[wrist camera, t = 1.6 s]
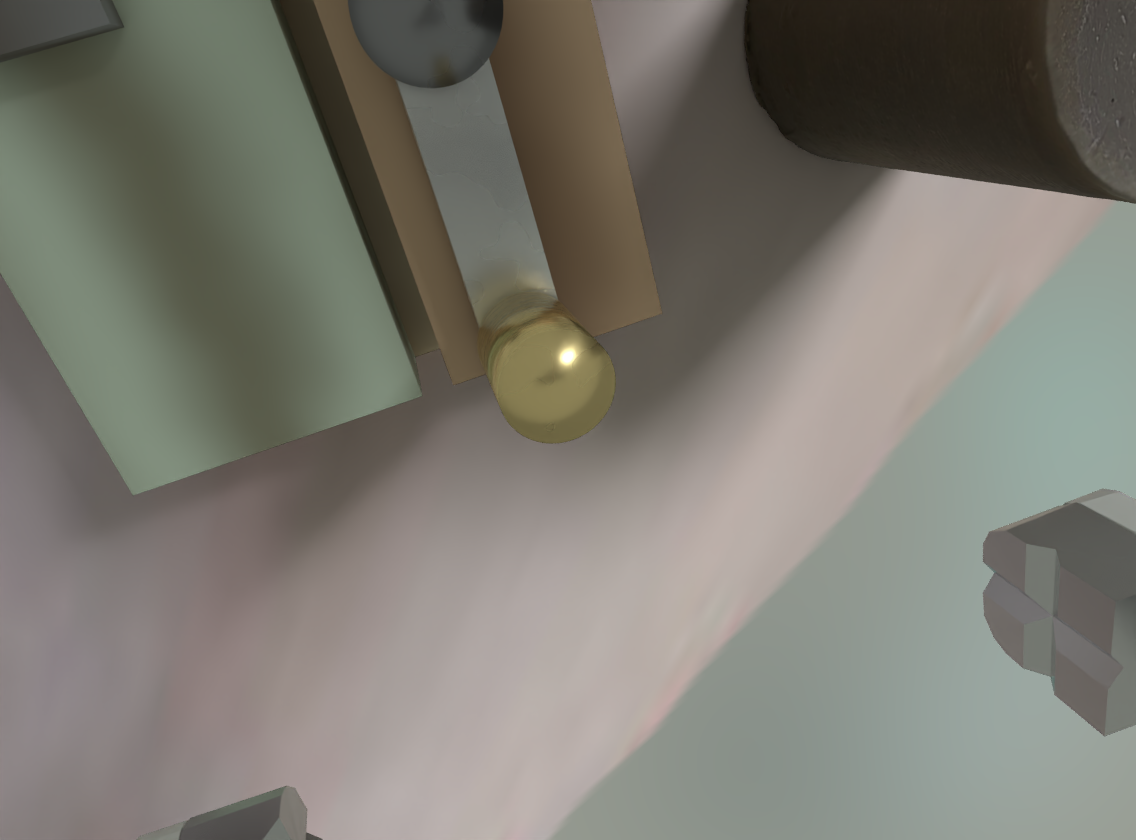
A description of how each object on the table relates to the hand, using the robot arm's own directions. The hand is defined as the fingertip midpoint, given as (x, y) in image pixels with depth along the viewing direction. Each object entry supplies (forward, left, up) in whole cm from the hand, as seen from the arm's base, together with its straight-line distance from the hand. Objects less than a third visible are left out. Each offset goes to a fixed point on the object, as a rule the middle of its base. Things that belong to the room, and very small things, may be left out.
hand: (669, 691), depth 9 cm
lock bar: (-1, -4, -17) cm, 17 cm away
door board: (+3, -6, -22) cm, 23 cm away
